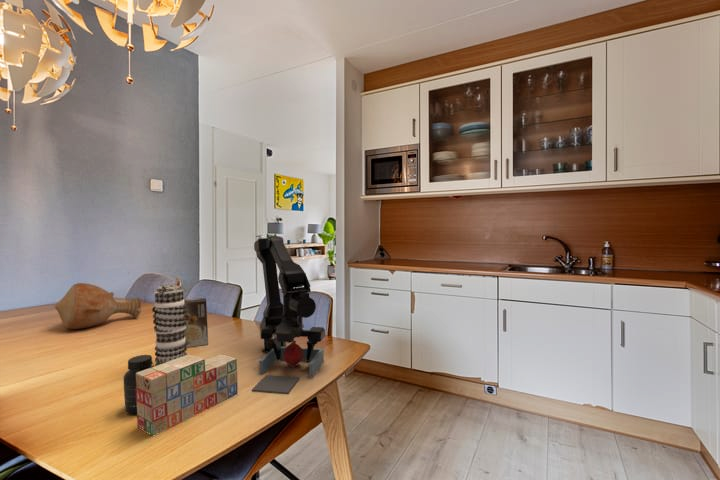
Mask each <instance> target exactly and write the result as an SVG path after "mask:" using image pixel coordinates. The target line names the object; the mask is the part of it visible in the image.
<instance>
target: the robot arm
mask: <svg viewBox="0 0 720 480" xmlns="http://www.w3.org/2000/svg"><path fill="white" fill-rule="evenodd" d="M284 242H285V241H284V238H283V237H282V236H269V237H265V238H263V237H262V238H258V239H257V240H256V241H254V243H253V247H254V248H253V249H254V252H255V254H256V258H257V259H258V260H259V261H260V263H261V264H262V271H263V281H264V289H265V298H266V299H265V300H266V306H265V308H264V311H263V312H262V316H263V317H262V319H261V322H260V324H259V331H260V333H259V335H260V340H263V344H264V345H263V349H262V350H261V352H262V353H268V352H270V351H271V350H272V349H274V352H275V354H276V357H277V361H281V360H280V357H281V347H287V343H289V344H291V343H292V341H295V338H300V337H304V338H305V337H307V342H306V346H307V347H306V348H307V361H306V362H307V363H310V362H309V360H310V357H311V354H312V351H313V348H314V347H315V346H316V345H317V344H318V343H320V342H322V341H323V339H324V338H325V337H326V329H325V328H324V327H323V326H322V327H321V326H312V327H311V328H310V329H309V330H308V329H304V328H305V327H304V324H303V320H304V319H306V318H310V317H311V316H313V314H314V313H315V312H316V308H317V304H316V301H315V300H314V299H313V298H312V297H310V292H311V291H312V290H311V283H310V282H309V281H310V280H309V279H308V276H307V272H305V270H304V269H303V267H302V266H301V265H300V264H298V263H296V262H295V261H294V260H293V258H292V255H290V253H289V251H288V248H287V247H286V246H285V243H284ZM278 270H279V273H278ZM280 288H281V289H280ZM280 290H281V294H282V301H281V294H280Z"/></svg>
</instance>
